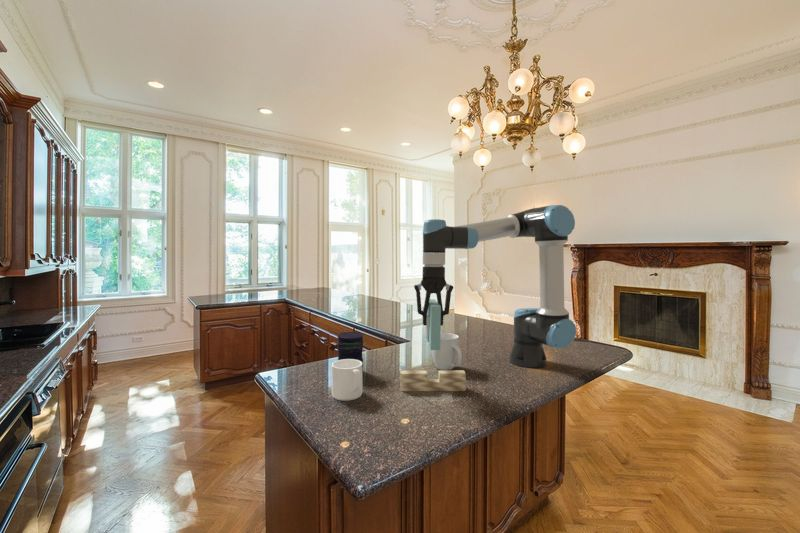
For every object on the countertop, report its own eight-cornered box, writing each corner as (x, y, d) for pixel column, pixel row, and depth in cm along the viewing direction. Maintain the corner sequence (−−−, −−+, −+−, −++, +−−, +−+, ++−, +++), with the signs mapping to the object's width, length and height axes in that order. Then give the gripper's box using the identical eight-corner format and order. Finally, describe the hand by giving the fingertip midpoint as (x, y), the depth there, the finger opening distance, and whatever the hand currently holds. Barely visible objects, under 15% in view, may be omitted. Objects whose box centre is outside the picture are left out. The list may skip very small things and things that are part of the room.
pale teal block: (440, 350, 112) (440, 306, 111) (430, 350, 112) (431, 306, 111) (434, 337, 128) (434, 299, 127) (425, 337, 128) (426, 299, 127)
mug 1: (326, 393, 117) (326, 362, 117) (353, 386, 123) (353, 357, 123) (343, 406, 107) (343, 373, 107) (372, 398, 113) (372, 367, 112)
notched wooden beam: (463, 387, 122) (464, 370, 122) (465, 390, 119) (465, 373, 119) (400, 387, 122) (400, 370, 122) (400, 391, 119) (400, 373, 119)
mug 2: (471, 372, 138) (471, 339, 137) (449, 377, 132) (450, 343, 131) (446, 361, 150) (446, 331, 150) (425, 366, 144) (425, 334, 144)
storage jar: (368, 373, 136) (368, 334, 136) (348, 379, 129) (348, 339, 128) (352, 367, 143) (352, 330, 142) (332, 373, 136) (332, 334, 135)
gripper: (455, 265, 123) (454, 332, 124) (409, 265, 122) (408, 332, 123) (459, 266, 115) (458, 337, 116) (410, 266, 115) (409, 337, 116)
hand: (432, 334), depth 120 cm, fingers closed on pale teal block, 3 cm apart
